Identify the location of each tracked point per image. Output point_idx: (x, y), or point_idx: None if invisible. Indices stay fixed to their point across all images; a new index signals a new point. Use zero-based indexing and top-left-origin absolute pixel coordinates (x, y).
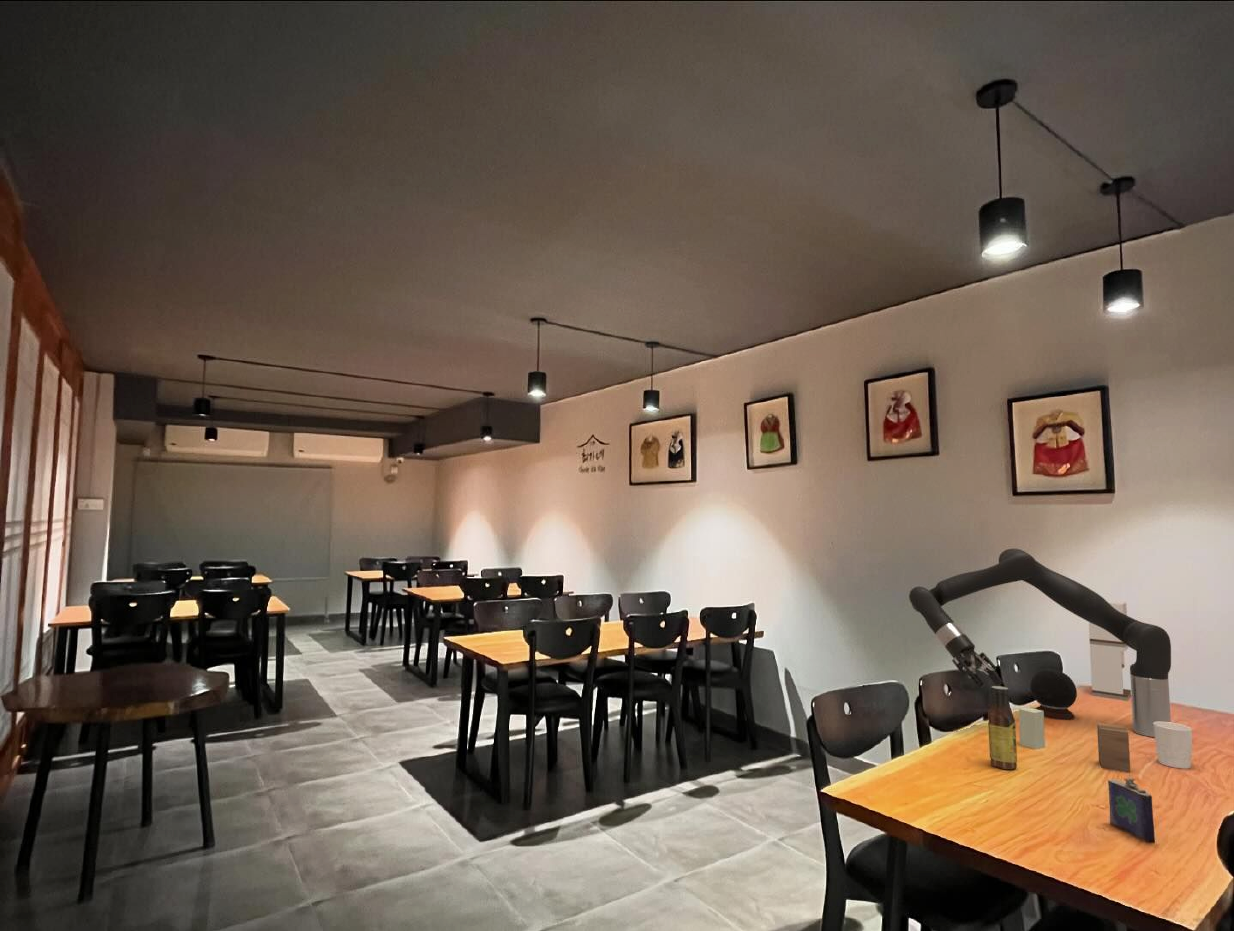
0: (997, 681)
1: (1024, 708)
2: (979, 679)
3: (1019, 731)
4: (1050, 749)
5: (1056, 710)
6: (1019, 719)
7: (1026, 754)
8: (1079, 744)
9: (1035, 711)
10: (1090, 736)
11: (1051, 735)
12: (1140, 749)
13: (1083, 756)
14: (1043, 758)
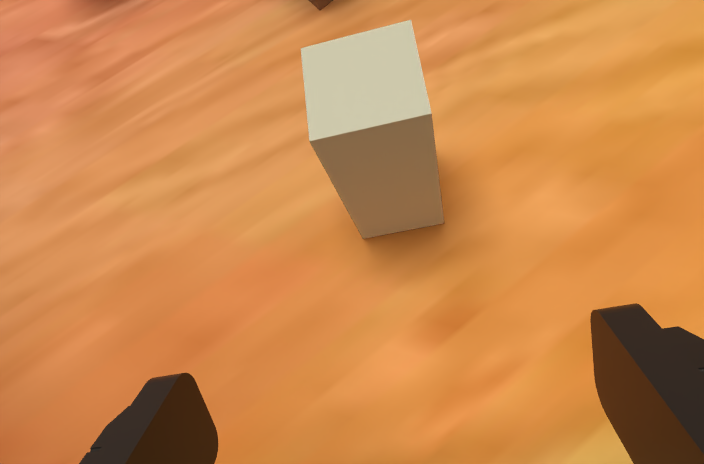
0: (190, 423)
1: (368, 117)
2: (691, 374)
3: (440, 191)
4: None
5: None
6: (435, 152)
7: (545, 110)
8: (168, 167)
9: (369, 44)
10: (9, 236)
11: (138, 296)
12: (41, 84)
13: None
14: (512, 60)
